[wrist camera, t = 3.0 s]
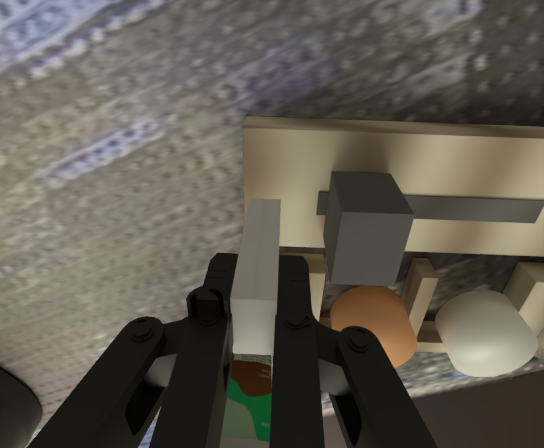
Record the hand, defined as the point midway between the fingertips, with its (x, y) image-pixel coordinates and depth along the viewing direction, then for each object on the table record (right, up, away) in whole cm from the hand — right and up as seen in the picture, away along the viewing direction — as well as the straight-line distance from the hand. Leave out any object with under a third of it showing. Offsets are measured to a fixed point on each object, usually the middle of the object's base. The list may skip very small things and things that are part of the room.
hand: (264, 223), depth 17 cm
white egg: (+14, -6, +6) cm, 16 cm away
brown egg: (+7, -6, +6) cm, 11 cm away
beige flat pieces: (+11, -1, +6) cm, 12 cm away
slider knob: (+5, +1, +2) cm, 5 cm away
